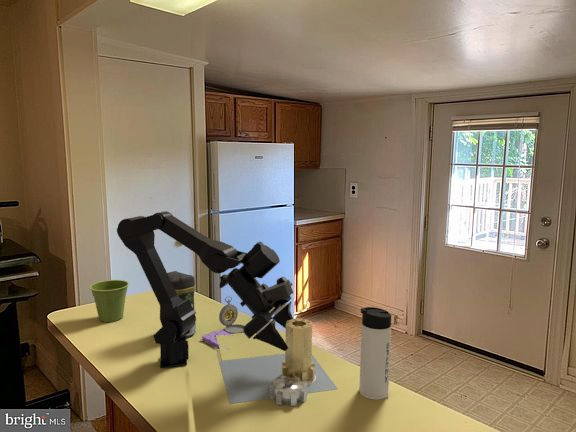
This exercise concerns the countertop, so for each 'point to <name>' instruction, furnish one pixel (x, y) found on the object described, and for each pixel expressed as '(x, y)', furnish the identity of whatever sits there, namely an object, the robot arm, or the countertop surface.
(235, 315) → the pocket watch
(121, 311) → the plant pot
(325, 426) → the countertop surface
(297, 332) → the gear
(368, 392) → the travel mug
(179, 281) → the coffee jar
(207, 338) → the sponges
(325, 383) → the gear board
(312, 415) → the countertop surface
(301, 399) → the gear
